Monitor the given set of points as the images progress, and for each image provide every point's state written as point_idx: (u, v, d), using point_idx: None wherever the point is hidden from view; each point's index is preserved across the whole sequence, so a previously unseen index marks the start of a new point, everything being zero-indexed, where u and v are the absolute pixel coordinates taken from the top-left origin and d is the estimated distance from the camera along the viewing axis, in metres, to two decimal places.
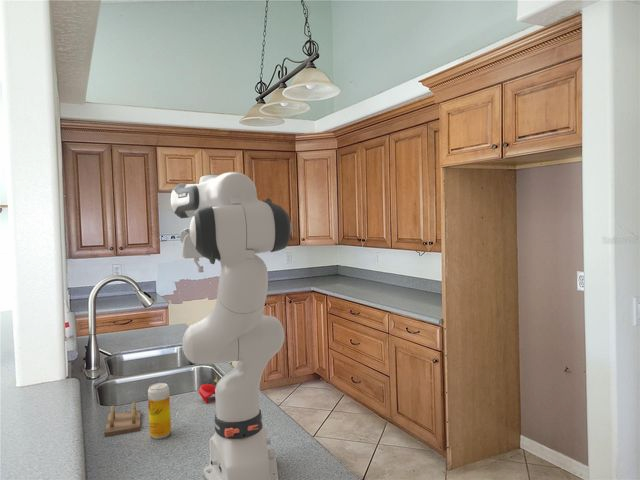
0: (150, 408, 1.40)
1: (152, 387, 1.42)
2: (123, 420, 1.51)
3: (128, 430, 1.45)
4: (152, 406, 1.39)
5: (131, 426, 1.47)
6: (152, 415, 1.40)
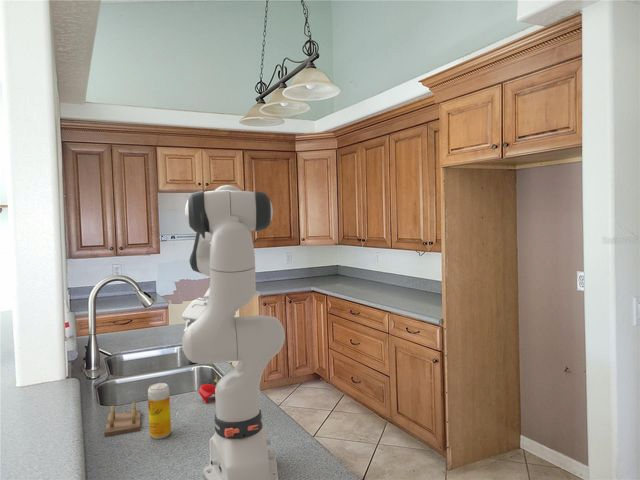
0: (150, 408, 1.40)
1: (152, 387, 1.42)
2: (123, 420, 1.51)
3: (128, 430, 1.45)
4: (152, 406, 1.39)
5: (131, 426, 1.47)
6: (152, 415, 1.40)
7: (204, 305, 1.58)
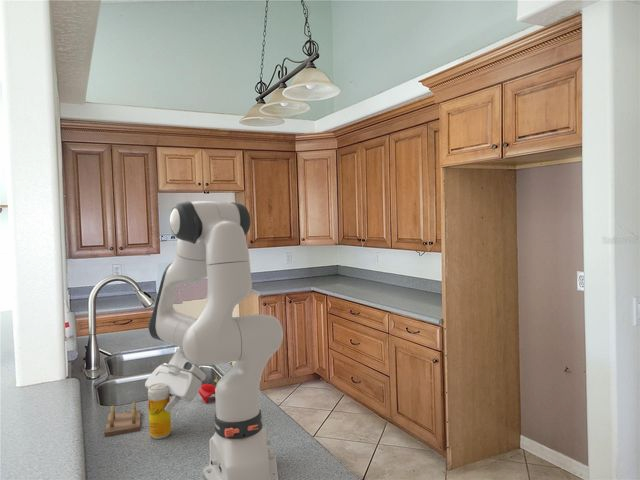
0: (150, 408, 1.40)
1: (152, 387, 1.42)
2: (123, 420, 1.51)
3: (128, 430, 1.45)
4: (152, 406, 1.39)
5: (131, 426, 1.47)
6: (152, 415, 1.40)
7: (168, 374, 1.47)
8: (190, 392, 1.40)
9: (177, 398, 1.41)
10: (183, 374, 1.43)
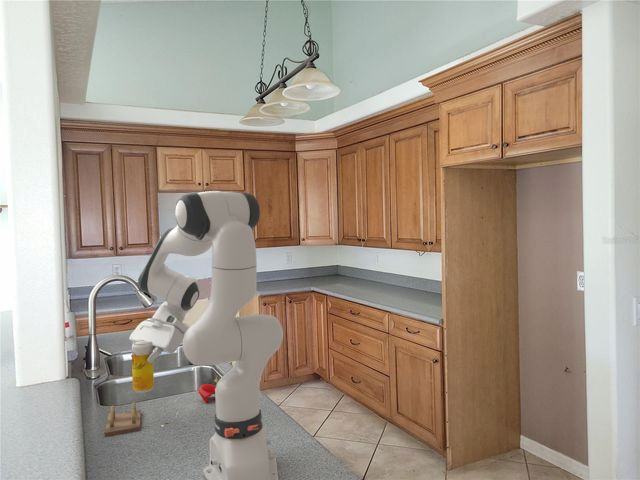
0: (133, 362, 1.43)
1: (136, 342, 1.45)
2: (123, 420, 1.51)
3: (128, 430, 1.45)
4: (136, 361, 1.43)
5: (131, 426, 1.47)
6: (135, 369, 1.43)
7: (152, 327, 1.50)
8: (172, 343, 1.42)
9: (160, 350, 1.44)
10: (166, 327, 1.46)
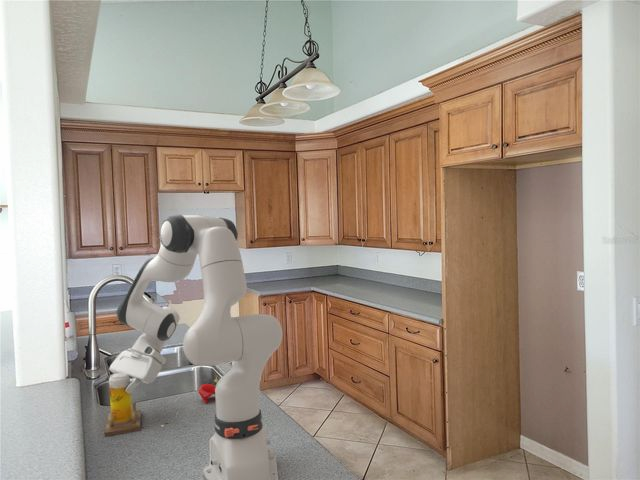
0: (111, 395, 1.48)
1: (113, 376, 1.50)
2: None
3: (128, 430, 1.45)
4: (113, 394, 1.48)
5: (131, 426, 1.47)
6: (113, 402, 1.48)
7: (131, 358, 1.56)
8: (150, 374, 1.48)
9: (138, 380, 1.49)
10: (144, 358, 1.52)
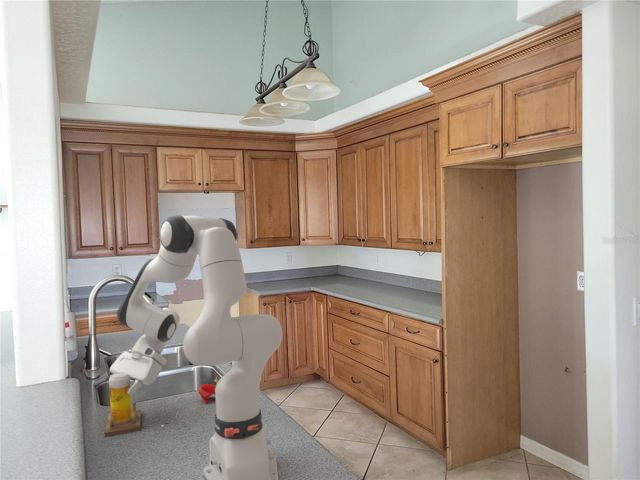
0: (111, 395, 1.48)
1: (113, 376, 1.50)
2: None
3: (128, 430, 1.45)
4: (113, 394, 1.48)
5: (131, 426, 1.47)
6: (113, 402, 1.48)
7: (131, 359, 1.56)
8: (150, 375, 1.48)
9: (140, 382, 1.49)
10: (144, 359, 1.52)
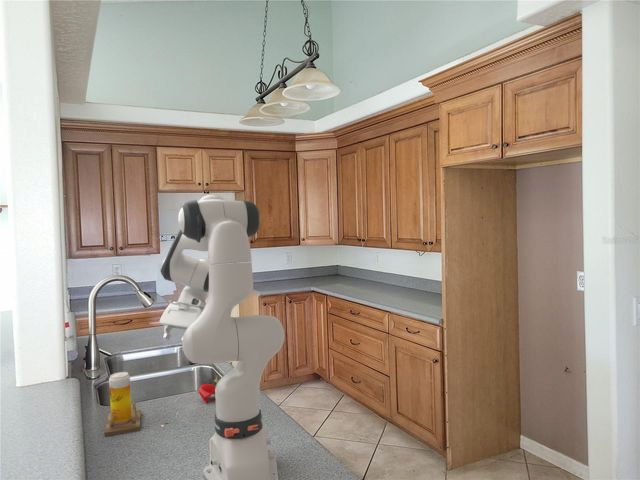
0: (111, 395, 1.48)
1: (113, 376, 1.50)
2: None
3: (128, 430, 1.45)
4: (113, 394, 1.48)
5: (131, 426, 1.47)
6: (113, 402, 1.48)
7: (179, 310, 1.65)
8: None
9: None
10: (192, 309, 1.61)
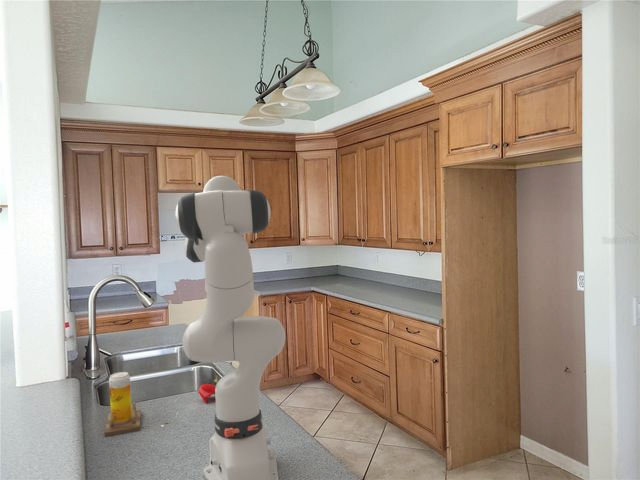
0: (111, 395, 1.48)
1: (113, 376, 1.50)
2: None
3: (128, 430, 1.45)
4: (113, 394, 1.48)
5: (131, 426, 1.47)
6: (113, 402, 1.48)
7: None
8: None
9: None
10: None
